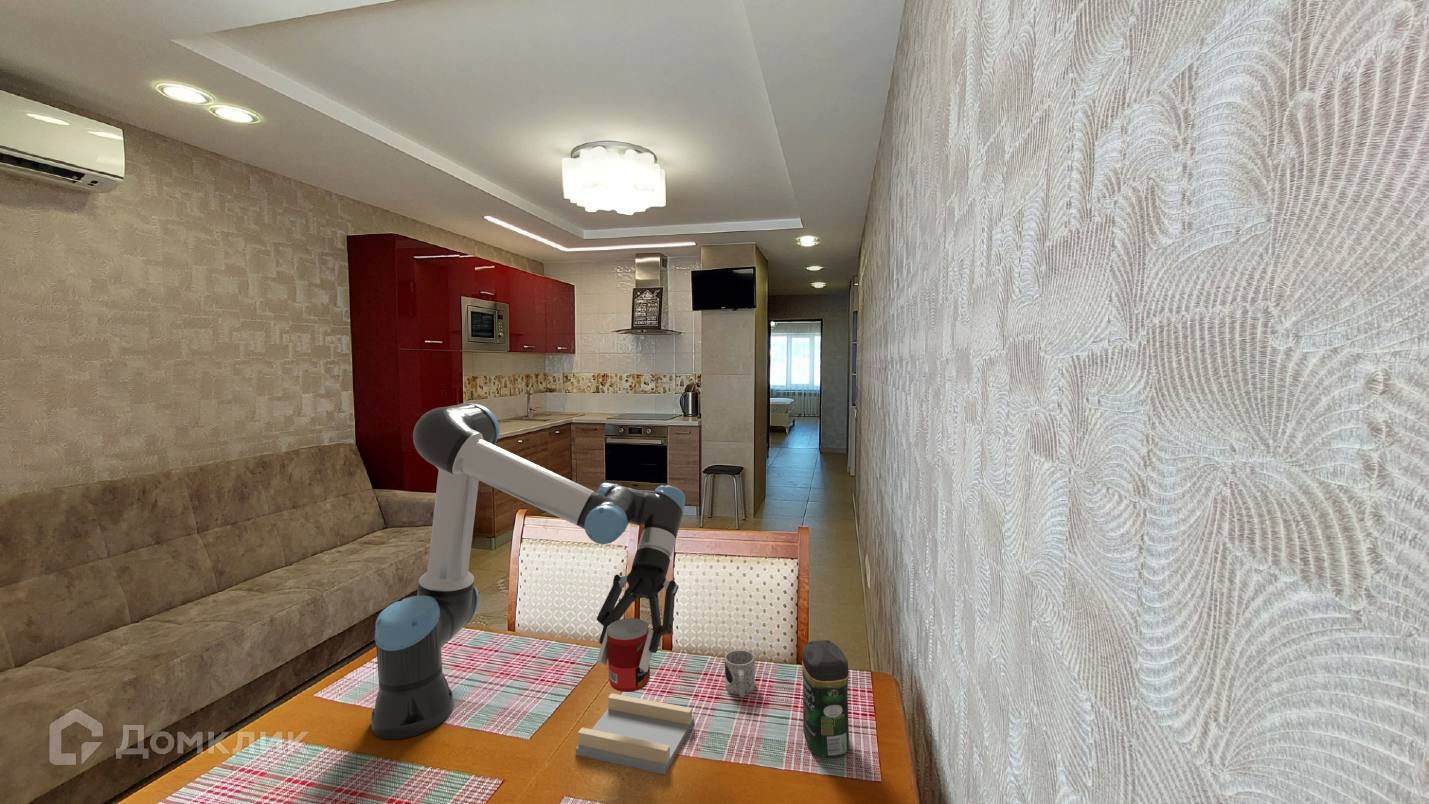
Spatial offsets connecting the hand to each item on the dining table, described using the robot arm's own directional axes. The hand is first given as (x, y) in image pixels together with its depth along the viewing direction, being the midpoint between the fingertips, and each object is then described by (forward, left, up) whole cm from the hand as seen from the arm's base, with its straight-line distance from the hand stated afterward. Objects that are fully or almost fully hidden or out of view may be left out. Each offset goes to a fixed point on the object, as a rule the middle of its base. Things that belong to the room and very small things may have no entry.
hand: (622, 666), depth 107 cm
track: (+1, +3, -16) cm, 16 cm away
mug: (+16, +24, -16) cm, 33 cm away
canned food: (0, +3, -5) cm, 6 cm away
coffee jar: (+36, +12, -16) cm, 41 cm away
